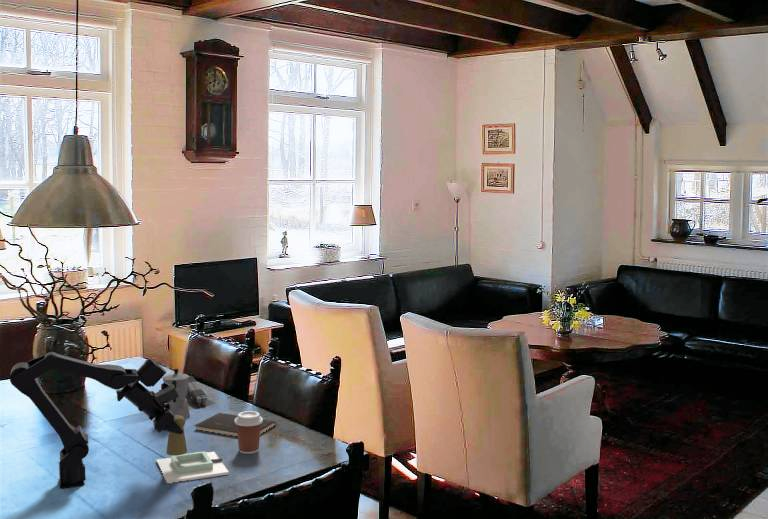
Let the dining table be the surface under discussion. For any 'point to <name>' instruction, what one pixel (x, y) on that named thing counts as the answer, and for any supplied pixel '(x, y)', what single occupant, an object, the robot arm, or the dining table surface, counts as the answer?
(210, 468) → the dock plate
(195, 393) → the gun
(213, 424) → the hardcover book
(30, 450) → the dining table surface
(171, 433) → the cork
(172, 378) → the coffeepot
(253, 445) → the coffee cup
